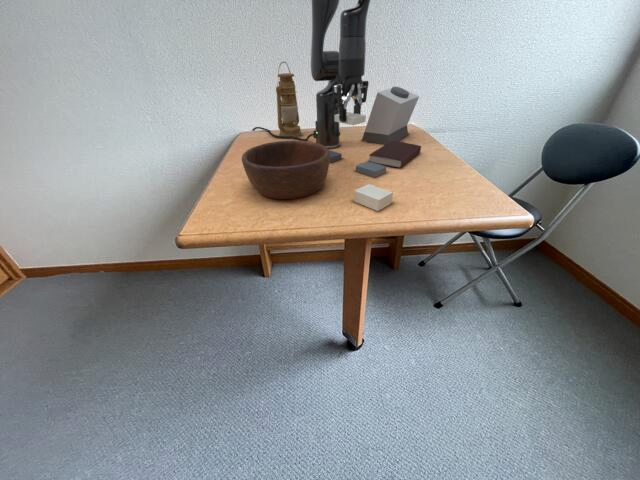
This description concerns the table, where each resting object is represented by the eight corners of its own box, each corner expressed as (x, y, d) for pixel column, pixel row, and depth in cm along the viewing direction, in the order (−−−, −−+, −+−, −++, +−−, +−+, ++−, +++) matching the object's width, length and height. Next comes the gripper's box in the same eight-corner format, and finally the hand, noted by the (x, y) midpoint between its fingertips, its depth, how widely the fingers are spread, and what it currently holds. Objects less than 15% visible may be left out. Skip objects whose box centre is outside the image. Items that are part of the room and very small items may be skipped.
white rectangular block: (353, 201, 74) (354, 190, 73) (367, 194, 78) (368, 183, 76) (377, 211, 70) (378, 199, 68) (391, 203, 73) (393, 192, 71)
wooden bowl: (239, 206, 74) (231, 169, 68) (255, 172, 94) (250, 141, 88) (332, 203, 74) (332, 165, 68) (328, 169, 94) (328, 138, 88)
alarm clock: (381, 130, 135) (386, 83, 123) (413, 134, 127) (421, 84, 116) (361, 140, 122) (364, 88, 110) (395, 146, 114) (402, 90, 102)
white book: (334, 121, 89) (334, 114, 88) (346, 118, 93) (347, 111, 91) (353, 125, 85) (353, 118, 83) (365, 121, 88) (365, 115, 87)
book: (420, 153, 105) (422, 144, 103) (401, 169, 93) (402, 159, 91) (389, 148, 111) (390, 140, 110) (367, 162, 99) (368, 153, 97)
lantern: (286, 130, 140) (279, 60, 123) (305, 131, 138) (301, 60, 121) (274, 138, 129) (265, 62, 111) (295, 139, 126) (289, 62, 109)
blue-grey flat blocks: (315, 158, 104) (315, 152, 103) (326, 154, 108) (326, 149, 107) (374, 177, 87) (375, 171, 86) (385, 172, 91) (386, 166, 90)
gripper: (358, 55, 85) (355, 114, 94) (324, 58, 77) (325, 122, 87) (378, 55, 80) (373, 117, 90) (344, 58, 72) (343, 125, 82)
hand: (349, 119), depth 88 cm, fingers closed on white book, 6 cm apart
